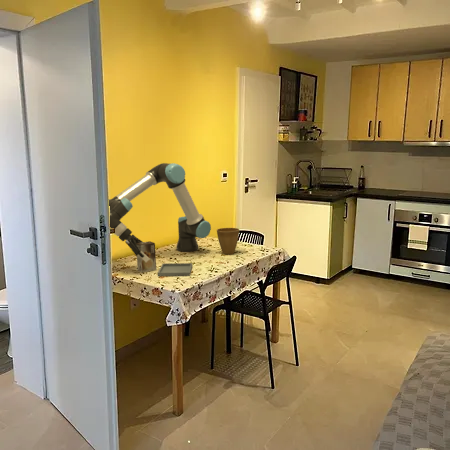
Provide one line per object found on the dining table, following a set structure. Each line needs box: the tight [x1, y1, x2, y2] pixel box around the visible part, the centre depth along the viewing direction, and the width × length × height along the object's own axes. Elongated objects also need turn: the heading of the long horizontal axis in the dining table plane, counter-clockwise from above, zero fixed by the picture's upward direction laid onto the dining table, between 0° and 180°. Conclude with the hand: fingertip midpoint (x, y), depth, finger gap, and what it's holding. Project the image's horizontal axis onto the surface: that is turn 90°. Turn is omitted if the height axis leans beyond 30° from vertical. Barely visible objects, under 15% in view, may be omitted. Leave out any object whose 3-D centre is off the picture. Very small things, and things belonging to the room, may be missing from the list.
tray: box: [157, 262, 193, 277], centre depth 258 cm, size 20×18×2 cm
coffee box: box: [136, 241, 157, 273], centre depth 259 cm, size 9×6×16 cm
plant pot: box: [216, 227, 240, 255], centre depth 298 cm, size 15×15×16 cm
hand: (150, 257), depth 260 cm, fingers open, 13 cm apart
